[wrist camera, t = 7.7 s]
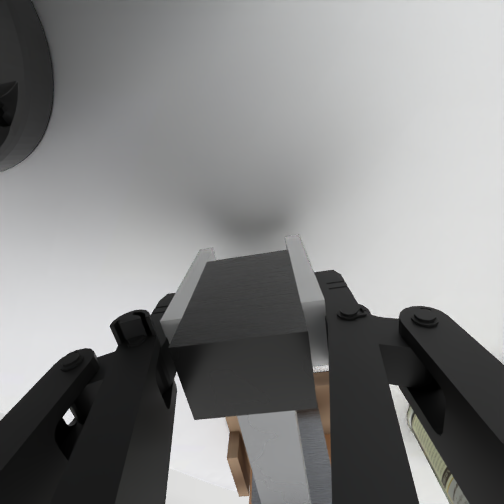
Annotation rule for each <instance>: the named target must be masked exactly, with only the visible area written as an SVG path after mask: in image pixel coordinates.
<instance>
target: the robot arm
mask: <svg viewBox="0 0 504 504" xmlns="http://www.w3.org/2000/svg"><path fill="white" fill-rule="evenodd" d="M52 99H53V75H52V66H51V60H50V54H49V50H48V45H47V42H46V38H45V35H44V32H43V29H42V26H41V23H40V21H39V18H38V16H37V13H36V11H35V9H34V7H33V4H32V2H31V0H0V172H1V171H4V170H7V169H9V168H11V167H13V166H15V165H17V164H18V163H20V162H21V161H22V160H24V159H25V158H26V157H27V156H28V155H29V154H30V153H31V152H32V151H33V150H34V149H35V147H36V146H37V144H38V143H39V141H40V140H41V138H42V136H43V134H44V132H45V129H46V127H47V124H48V121H49V117H50V113H51V107H52ZM285 240H286V247H287V250H288V251H289V255H290V259H291V263H292V268H293V272H294V276H295V280H296V284H297V288H298V293H299V297H300V301H301V304H302V308H303V312H304V316H305V321H306V325H307V329H308V335H309V343H310V351H311V359H312V367H313V366H323V365H329V393H330V438H331V482H332V504H419V501H418V497H417V493H416V489H415V485H414V481H413V477H412V474H411V470H410V466H409V462H408V458H407V454H406V450H405V446H404V442H403V438H402V434H401V430H400V426H399V422H398V418H397V415H396V411H395V407H394V403H393V399H392V395H391V391H390V387H389V384H393V385H399V388H400V390H401V391H402V393H403V394H404V396H405V398H406V399H407V401H408V403H409V404H410V406H411V408H412V409H413V411H414V413H415V414H416V416H417V418H418V419H419V421H420V423H421V424H422V426H423V428H424V429H425V431H426V433H427V434H428V436H429V438H430V439H431V441H432V443H433V444H434V446H435V448H436V449H437V451H438V453H439V454H440V456H441V458H442V459H443V461H444V463H445V464H446V466H447V468H448V469H449V471H450V472H451V474H452V476H453V477H454V479H455V481H456V482H457V484H458V486H459V487H460V489H461V491H462V492H463V494H464V496H465V497H466V499H467V501H468V502H469V504H504V365H503V364H502V363H501V362H500V361H499V360H497V359H496V358H495V357H494V356H493V355H492V354H491V353H490V352H488V351H487V350H486V349H485V348H484V347H483V346H482V345H481V344H479V343H478V342H477V341H476V340H475V339H474V338H473V337H471V336H470V335H469V334H468V333H467V332H466V331H465V330H464V329H462V328H461V327H460V326H459V325H458V324H457V323H456V322H454V321H453V320H452V319H451V318H450V317H449V316H448V315H446V314H445V313H443V312H441V311H439V310H437V309H434V308H430V307H425V306H412V307H409V308H405V309H404V310H402V311H401V312H400V315H399V319H394V318H383V317H377V316H374V315H371V313H370V311H369V310H368V309H367V308H366V307H364V306H363V305H360V304H358V303H357V301H356V300H355V298H354V296H353V295H352V293H351V291H350V289H349V288H348V287H347V284H346V283H345V281H344V279H343V277H342V276H341V274H339V273H337V272H336V271H334V270H328V271H321V272H314V271H313V269H312V266H311V264H310V261H309V259H308V256H307V253H306V251H305V248H304V246H303V243H302V241H301V238H300V236H299V234H298V235H292V236H285ZM210 261H216V257H215V253H214V249H213V248H208V249H201V250H200V251H199V252H198V254H197V256H196V258H195V260H194V261H193V263H192V265H191V267H190V268H189V270H188V272H187V274H186V276H185V277H184V279H183V281H182V283H181V285H180V286H179V288H178V290H177V292H176V293H171V294H167V295H166V296H165V297H163V298H162V299H161V300H160V301H159V303H158V304H157V306H156V309H154V310H153V312H152V314H151V315H150V314H149V312H148V311H146V310H134V311H131V312H128V313H126V314H124V315H122V316H120V317H118V318H117V319H116V320H114V321H113V322H112V323H111V325H110V328H111V330H112V332H113V335H114V337H115V339H116V341H117V344H118V347H117V349H116V351H115V352H112V353H109V354H106V355H103V356H100V357H96V355H95V353H94V351H93V350H92V349H87V348H84V349H80V350H76V351H74V352H71V353H69V354H67V355H66V356H65V357H63V358H61V359H60V360H59V361H58V362H57V363H56V364H54V365H53V367H52V368H51V369H50V370H49V371H48V372H47V373H46V374H45V375H44V376H43V377H42V378H41V379H40V380H39V381H38V382H37V383H36V384H35V385H34V386H33V387H32V388H31V389H30V390H29V392H28V393H27V394H26V395H25V396H24V397H23V398H22V399H21V400H20V401H19V402H18V403H17V404H16V405H15V406H14V407H13V408H12V409H11V410H10V411H9V412H8V413H7V414H6V415H5V417H4V418H3V419H2V420H1V421H0V504H165V499H166V490H167V480H168V471H169V462H170V452H171V443H172V433H173V423H174V414H175V404H176V395H177V387H176V384H175V381H174V377H175V375H176V372H177V370H176V368H175V365H174V362H173V359H172V357H171V354H170V351H169V348H168V347H169V345H170V343H171V341H172V339H173V336H174V334H175V332H176V330H177V327H178V325H179V323H180V321H181V319H182V317H183V314H184V312H185V310H186V308H187V305H188V303H189V301H190V299H191V297H192V294H193V292H194V290H195V288H196V285H197V283H198V281H199V279H200V276H201V274H202V272H203V270H204V267H205V265H206V263H207V262H210ZM69 408H70V410H71V412H72V414H73V415H74V417H75V418H74V419H73V421H72V422H71V423H70V424H69V425H67V424H66V423H65V421H64V419H63V418H62V417H63V416H64V414H65V413H66V412H67V410H68V409H69Z"/></svg>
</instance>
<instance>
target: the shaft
mask: <svg viewBox="0 0 504 504" xmlns="http://www.w3.org/2000/svg"><path fill="white" fill-rule="evenodd" d="M168 348H169V351H170V354H171V357H172V359H173V362H174V365H175V368H176V370H177V373H178V376H179V379H180V381H181V384H182V387H183V390H184V392H185V395H186V398H187V401H188V403H189V406H190V409H191V412H192V414H193V417H194V420H199V419H209V418H220V417H231V416H237V418H238V422H239V426H240V429H241V433H242V436H243V440H244V443H245V447H246V451H247V454H248V458H249V461H250V465H251V468H252V472H253V476H254V479H255V483H256V486H257V490H258V493H259V497H260V501H261V504H311V497H310V491H309V485H308V479H307V473H306V467H305V461H304V455H303V448H302V442H301V436H300V430H299V424H298V418H297V412H296V410H305V409H315V408H317V400H316V392H315V384H314V376H313V367H312V359H311V351H310V343H309V335H308V329H307V325H306V321H305V316H304V312H303V308H302V304H301V301H300V297H299V293H298V288H297V284H296V280H295V276H294V272H293V268H292V263H291V259H290V255H289V251H288V250H283V251H276V252H270V253H263V254H256V255H250V256H243V257H236V258H230V259H223V260H216V261H210V262H207V263H206V265H205V267H204V270H203V272H202V274H201V276H200V279H199V281H198V283H197V285H196V288H195V290H194V292H193V294H192V297H191V299H190V301H189V303H188V305H187V308H186V310H185V312H184V314H183V317H182V319H181V321H180V323H179V325H178V327H177V330H176V332H175V334H174V336H173V339H172V341H171V343H170V345H169V347H168Z"/></svg>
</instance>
